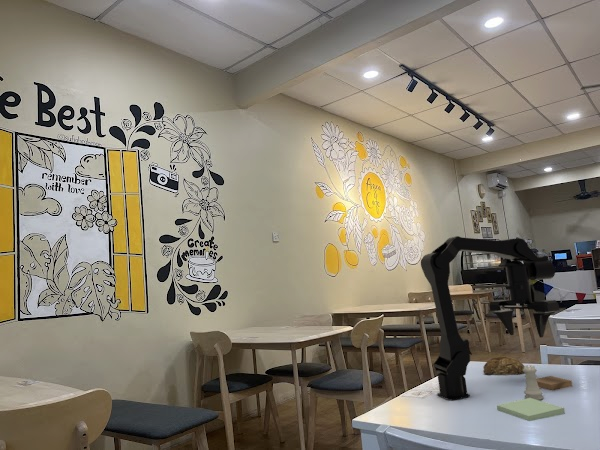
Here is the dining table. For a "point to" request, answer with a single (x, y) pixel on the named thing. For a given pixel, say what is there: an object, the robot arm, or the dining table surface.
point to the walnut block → (553, 383)
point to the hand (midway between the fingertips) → (526, 336)
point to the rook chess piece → (532, 384)
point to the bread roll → (503, 366)
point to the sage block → (530, 409)
